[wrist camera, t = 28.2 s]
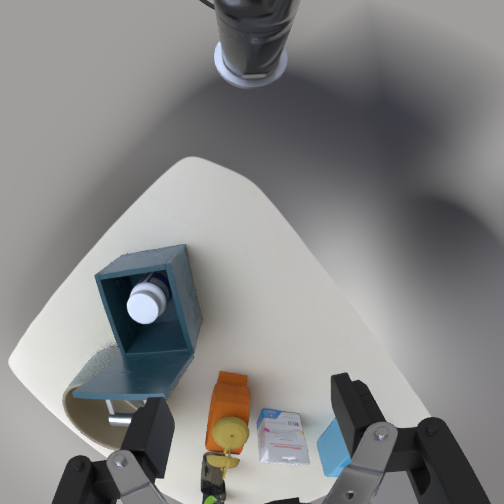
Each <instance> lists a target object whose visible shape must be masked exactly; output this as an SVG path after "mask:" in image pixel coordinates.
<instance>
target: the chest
mask: <svg viewBox="0 0 504 504" xmlns="http://www.w3.org/2000/svg"><path fill="white" fill-rule="evenodd" d="M161 270H165V271H167V275H168V279H169V283H170V287H171V291H172V297H171V299H170V301H169V303H168V305H167V307H166V309H165V311H164V312H163V313H162V314H161V315H160V316H158V317H157V318H156V320H155V321H153V322H152V323H149V324H142V323H139V322H137V321H135V320H134V319H133V318H132V317H131V316H130V315H129V313H128V310H127V303H128V300H129V298H130V295H131V292H132V290H133V288H134V287H135V286H136V284H137V283H138V282H139V281H140V280H141V278H142V277H143V276H144V275H145V274H146V273H148V272H155V271H161ZM94 276H95V279H96V283H97V286H98V289H99V293H100V296H101V299H102V302H103V305H104V308H105V311H106V314H107V317H108V320H109V323H110V326H111V328H112V331H113V334H114V336H115V339H116V342H117V344H118V347H119V349H120V352H121V354H122V357H123V358H127V357H145V356H160V355H172V354H184V353H194V352H195V347H196V343H197V339H198V335H199V331H200V327H201V323H202V315H201V311H200V307H199V303H198V299H197V295H196V290H195V286H194V281H193V277H192V273H191V268H190V263H189V259H188V254H187V249H186V245H185V244H182V245H176V246H170V247H165V248H159V249H153V250H147V251H142V252H136V253H130V254H125V255H121V256H120V257H118V258H117V259H116V260H114V261H113V262H112V263H110V264H109V265H108V266H106V267H105V268H104V269H102V270H101V271H100V272H98V273H97V274H96V275H94Z"/></svg>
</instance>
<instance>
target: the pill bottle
mask: <svg viewBox="0 0 504 504" xmlns="http://www.w3.org/2000/svg"><path fill="white" fill-rule="evenodd" d="M171 297H172V291H171V287H170V283H169V279H168V275H167V271H165V270H161V271H155V272H148V273H146V274H145V275H144V276H143V277H142V278H141V280H140V281H139V282H138V283H137V284H136V286H135V287H134V288H133V290H132V292H131V295H130V298H129V300H128V303H127V310H128V313H129V315H130V316H131V317H132V318H133V319H134V320H135V321H137V322H139V323H142V324H149V323H152V322H153V321H155V320H156V318H157V317H158V316H160V315H161V314H162V313H163V312H164V311H165V309H166V307H167V305H168V303H169V301H170V299H171Z"/></svg>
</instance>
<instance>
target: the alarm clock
mask: <svg viewBox="0 0 504 504" xmlns="http://www.w3.org/2000/svg"><path fill="white" fill-rule="evenodd" d="M246 386H247V376H246V375H239V374H233V373H227V372H221V371H220V373H219V377H218V383H217V384H216V385H215V387H214V390H213V395H212V400H211V405H210V411H209V417H208V424H207V432H206V441H205V446H206V449H207V450H208V451H214V452H221V453H222V456H216V455H207V461H208V463H209V464H210V465H212V466H215V467H221V470H220V471H222V479H224V478H225V475H226V472H227V469H228V468H234V467H236V466H237V465H238V464H239V462H240V459H237V458H232V457H230V454H237V455H239V454H240V453H241V451H242V449H243V446H244V444H245V443H246V442H247V439H248V437H249V429H248V422H249V414H250V391H249V388H248V387H246ZM227 453H228V457H225V454H227ZM224 468H226V469H225V472H224Z"/></svg>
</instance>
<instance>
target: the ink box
mask: <svg viewBox="0 0 504 504" xmlns="http://www.w3.org/2000/svg"><path fill="white" fill-rule="evenodd" d="M257 431H258V443H259V454H260V462H265V463H276V464H289V465H300V464H305V465H309V464H310V461H309V456H308V449H307V445H306V441H305V437H304V433H303V428H302V424H301V420H300V416H299V414H297V413H289V412H281V411H274V410H267V409H263V410H262V412H261V414H260V417H259V419H258V421H257Z"/></svg>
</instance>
